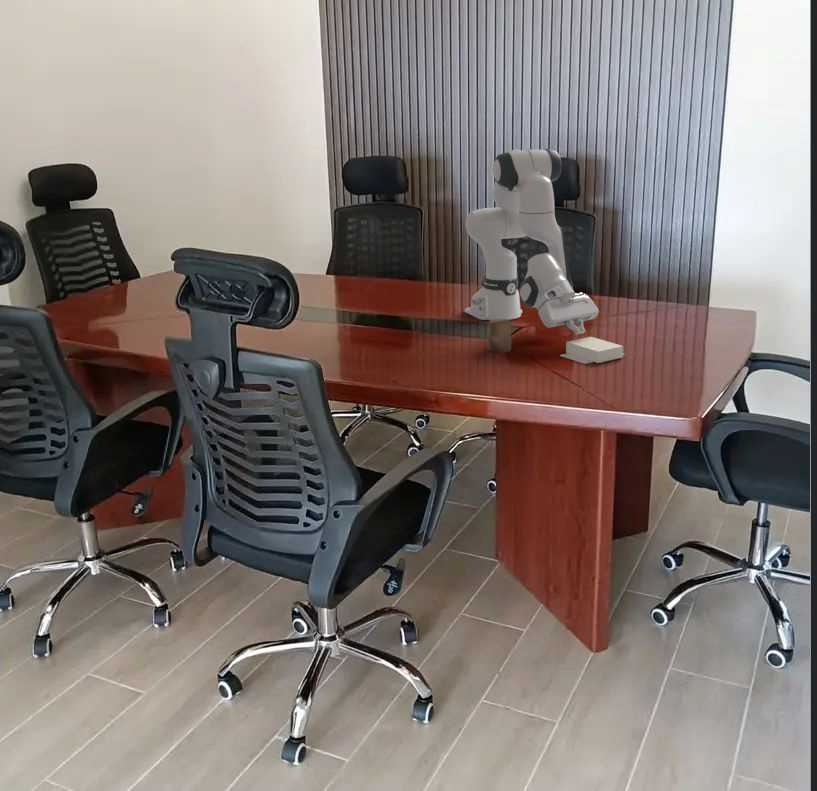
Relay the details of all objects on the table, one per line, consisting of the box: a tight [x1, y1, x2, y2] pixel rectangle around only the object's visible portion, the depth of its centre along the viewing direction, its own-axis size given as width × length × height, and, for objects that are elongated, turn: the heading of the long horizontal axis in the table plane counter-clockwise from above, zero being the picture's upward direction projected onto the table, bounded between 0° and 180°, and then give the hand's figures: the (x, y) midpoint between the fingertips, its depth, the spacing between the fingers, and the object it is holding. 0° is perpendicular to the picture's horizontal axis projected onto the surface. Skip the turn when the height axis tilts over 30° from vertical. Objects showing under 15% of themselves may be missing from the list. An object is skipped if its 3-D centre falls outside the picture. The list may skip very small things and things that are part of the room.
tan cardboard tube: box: [488, 319, 512, 354], centre depth 276 cm, size 7×7×9 cm
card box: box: [565, 336, 624, 364], centre depth 267 cm, size 4×10×14 cm
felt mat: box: [559, 353, 625, 365], centre depth 268 cm, size 11×16×1 cm
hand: (580, 333), depth 270 cm, fingers closed
